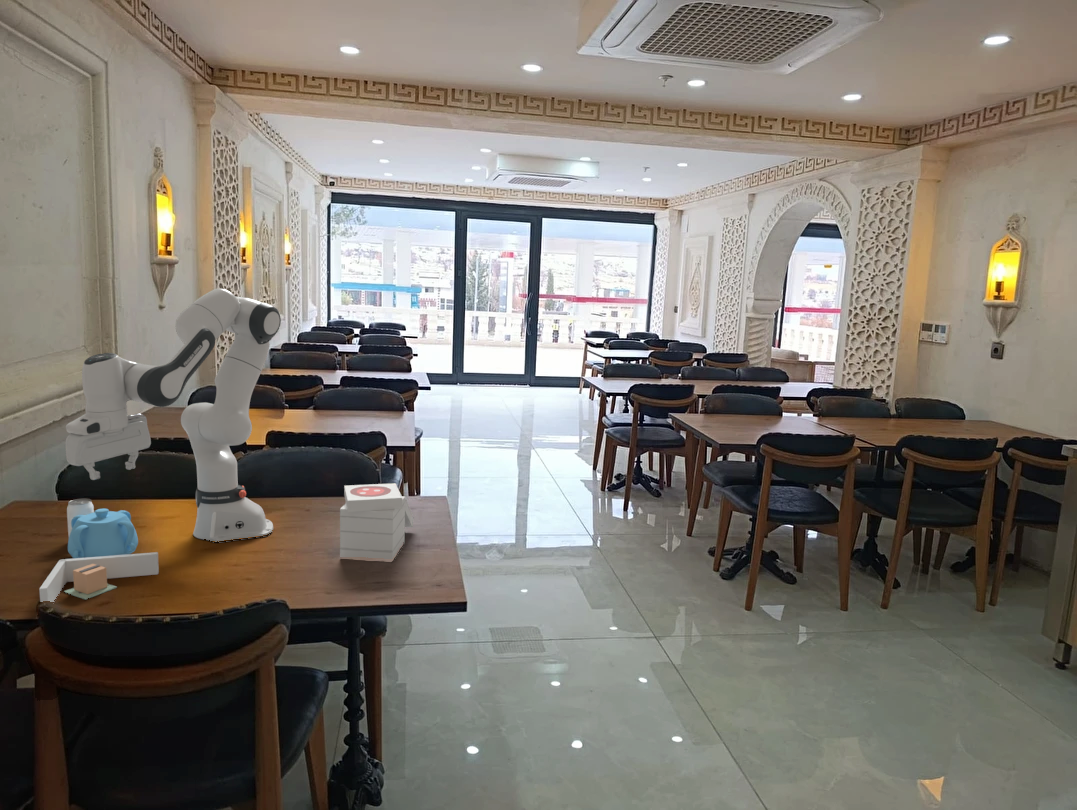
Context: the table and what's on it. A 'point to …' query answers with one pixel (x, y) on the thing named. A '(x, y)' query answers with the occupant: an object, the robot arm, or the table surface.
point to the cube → (90, 578)
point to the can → (78, 510)
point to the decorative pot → (102, 534)
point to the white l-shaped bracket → (113, 564)
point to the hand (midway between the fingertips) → (113, 473)
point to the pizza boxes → (373, 521)
